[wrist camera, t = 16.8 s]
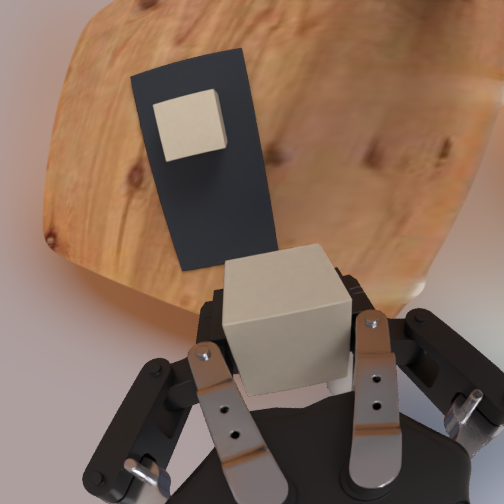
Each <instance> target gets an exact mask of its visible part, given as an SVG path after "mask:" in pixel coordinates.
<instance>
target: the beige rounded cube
mask: <svg viewBox="0 0 504 504" xmlns="http://www.w3.org/2000/svg"><path fill="white" fill-rule="evenodd" d="M153 108H154V112H155V117H156V121H157V126H158V130H159V134H160V138H161V143H162V147H163V151H164V155H165V159H166V162H168V161H172V160H176V159H180V158H184V157H188V156H192V155H196V154H200V153H205V152H209V151H214V150H218V149H223V148H226V145H227V142H228V141H227V136H226V131H225V126H224V121H223V117H222V112H221V107H220V102H219V97H218V93H217V92H216V91H215V90H214V89H211V90H206V91H202V92H198V93H194V94H190V95H186V96H182V97H178V98H174V99H171V100H167V101H164V102H160V103H157V104H154V105H153Z"/></svg>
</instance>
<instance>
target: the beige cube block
mask: <svg viewBox="0 0 504 504" xmlns="http://www.w3.org/2000/svg"><path fill="white" fill-rule="evenodd" d="M351 316H352V299H351V297H350V295H349V293H348V292H347V290H346V288H345V286H344V284H343V283H342V281H341V279H340V277H339V275H338V274H337V272H336V270H335V268H334V267H333V265H332V263H331V262H330V260H329V258H328V256H327V255H326V253H325V251H324V250H323V248H322V246H321V244H320V243H315V244H310V245H305V246H300V247H295V248H290V249H284V250H279V251H274V252H269V253H264V254H258V255H253V256H248V257H243V258H238V259H232V260H227V261H225V272H224V292H223V314H222V327H223V330H224V333H225V335H226V338H227V341H228V344H229V347H230V350H231V353H232V355H233V358H234V361H235V364H236V366H237V369H238V372H239V375H240V377H241V380H242V382H243V385H244V388H245V390H246V393H247V396H256V395H263V394H269V393H275V392H280V391H286V390H291V389H297V388H301V387H306V386H311V385H315V384H320V383H324V382H329V381H333V380H337V379H341V378H345V377H347V376H348V367H349V354H350V338H351Z"/></svg>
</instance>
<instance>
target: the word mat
mask: <svg viewBox="0 0 504 504" xmlns="http://www.w3.org/2000/svg"><path fill="white" fill-rule="evenodd" d="M130 78H131V83H132V88H133V93H134V98H135V102H136V107H137V112H138V116H139V121H140V125H141V129H142V133H143V138H144V142H145V146H146V150H147V154H148V158H149V161H150V165H151V169H152V173H153V176H154V180H155V184H156V187H157V191H158V194H159V198H160V201H161V205H162V208H163V211H164V215H165V218H166V221H167V225H168V228H169V231H170V234H171V237H172V241H173V244H174V247H175V250H176V253H177V256H178V259H179V262H180V265H181V268H182V271H187V270H193V269H199V268H204V267H210V266H215V265H221V264H225V261H227V260H232V259H238V258H243V257H248V256H253V255H258V254H264V253H269V252H274V251H278V246H277V239H276V233H275V227H274V220H273V214H272V208H271V202H270V196H269V190H268V184H267V178H266V173H265V167H264V161H263V156H262V150H261V145H260V139H259V134H258V128H257V123H256V117H255V112H254V107H253V102H252V96H251V91H250V86H249V81H248V76H247V71H246V66H245V61H244V57H243V52H242V48H238V49H232V50H227V51H222V52H217V53H212V54H207V55H203V56H198V57H194V58H190V59H186V60H182V61H179V62H175V63H172V64H168V65H165V66H161V67H158V68H155V69H152V70H149V71H146V72H143V73H140V74H137V75H134V76H131V77H130ZM211 89H214V90H215V91H216V92H217V93H218V97H219V102H220V107H221V112H222V117H223V121H224V126H225V131H226V136H227V141H228V142H227V145H226V148H223V149H218V150H214V151H209V152H205V153H200V154H196V155H192V156H188V157H184V158H180V159H176V160H172V161H168V162H166V159H165V155H164V151H163V147H162V143H161V138H160V134H159V130H158V126H157V121H156V117H155V112H154V108H153V105H154V104H157V103H160V102H164V101H167V100H171V99H174V98H178V97H182V96H186V95H190V94H194V93H198V92H202V91H206V90H211Z"/></svg>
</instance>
